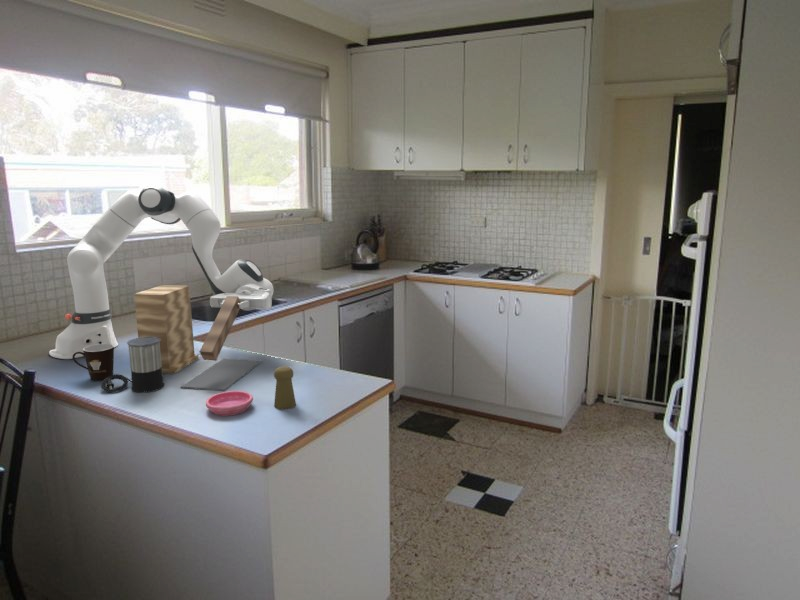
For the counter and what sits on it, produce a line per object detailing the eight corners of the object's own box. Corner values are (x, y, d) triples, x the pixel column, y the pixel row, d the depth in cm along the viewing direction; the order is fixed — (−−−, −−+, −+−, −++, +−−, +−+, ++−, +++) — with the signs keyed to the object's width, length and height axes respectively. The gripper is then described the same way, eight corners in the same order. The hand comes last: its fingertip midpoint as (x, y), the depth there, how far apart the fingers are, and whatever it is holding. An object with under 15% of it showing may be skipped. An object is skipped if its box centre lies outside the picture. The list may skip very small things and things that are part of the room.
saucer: (200, 418, 150) (199, 407, 149) (214, 400, 162) (213, 390, 162) (247, 418, 150) (246, 406, 150) (257, 400, 163) (257, 390, 162)
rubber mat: (224, 390, 169) (224, 389, 169) (180, 388, 171) (180, 386, 171) (261, 361, 196) (261, 360, 196) (223, 359, 198) (223, 358, 198)
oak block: (174, 373, 184) (167, 295, 179) (137, 371, 186) (129, 293, 181) (198, 358, 200) (193, 285, 194) (164, 356, 202) (158, 284, 196)
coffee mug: (123, 375, 183) (120, 345, 181) (101, 383, 175) (98, 352, 173) (95, 371, 187) (92, 341, 185) (72, 379, 179) (69, 349, 177)
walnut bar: (216, 360, 173) (211, 352, 171) (203, 359, 174) (199, 351, 171) (241, 304, 190) (238, 296, 187) (230, 304, 191) (226, 296, 188)
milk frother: (170, 387, 172) (165, 340, 169) (115, 401, 161) (109, 351, 158) (150, 376, 182) (146, 331, 179) (97, 389, 171) (92, 341, 168)
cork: (275, 401, 161) (273, 364, 159) (297, 400, 162) (295, 363, 159) (272, 409, 155) (270, 371, 153) (295, 409, 156) (293, 371, 154)
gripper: (219, 287, 201) (200, 295, 188) (274, 289, 198) (259, 297, 184) (221, 305, 202) (201, 314, 189) (275, 307, 199) (260, 316, 186)
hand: (230, 306), depth 187 cm, fingers closed on walnut bar, 4 cm apart
